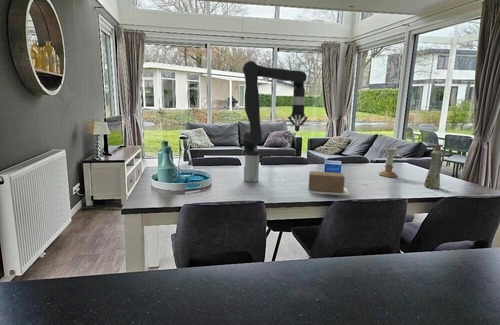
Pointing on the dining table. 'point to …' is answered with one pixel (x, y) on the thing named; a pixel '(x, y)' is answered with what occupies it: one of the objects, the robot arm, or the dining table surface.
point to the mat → (332, 192)
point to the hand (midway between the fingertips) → (297, 131)
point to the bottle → (434, 169)
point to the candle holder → (389, 163)
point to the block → (326, 181)
